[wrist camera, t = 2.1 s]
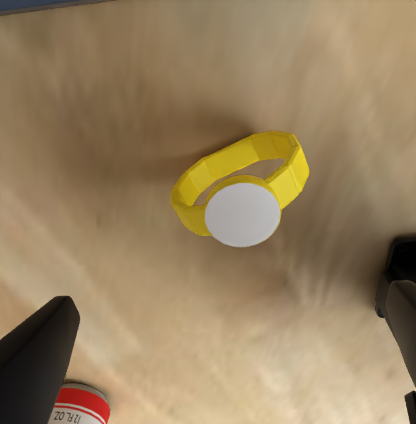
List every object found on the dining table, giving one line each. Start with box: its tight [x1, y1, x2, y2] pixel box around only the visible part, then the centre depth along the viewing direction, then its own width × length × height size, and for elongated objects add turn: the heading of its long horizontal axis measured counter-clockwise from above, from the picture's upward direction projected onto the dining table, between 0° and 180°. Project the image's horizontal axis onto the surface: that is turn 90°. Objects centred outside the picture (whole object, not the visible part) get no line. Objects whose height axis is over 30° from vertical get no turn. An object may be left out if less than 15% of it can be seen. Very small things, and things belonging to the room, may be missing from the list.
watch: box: [171, 131, 310, 247], centre depth 14 cm, size 6×3×6 cm, turn 116°
